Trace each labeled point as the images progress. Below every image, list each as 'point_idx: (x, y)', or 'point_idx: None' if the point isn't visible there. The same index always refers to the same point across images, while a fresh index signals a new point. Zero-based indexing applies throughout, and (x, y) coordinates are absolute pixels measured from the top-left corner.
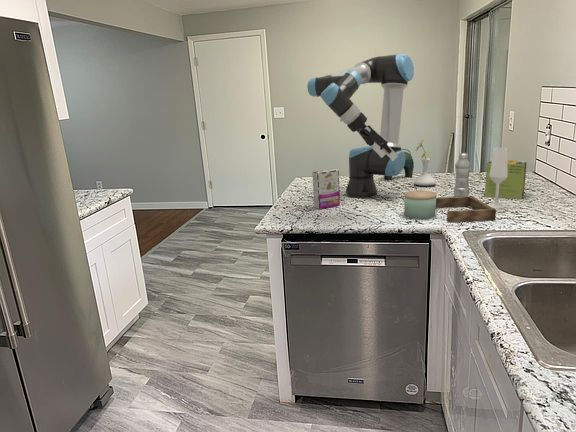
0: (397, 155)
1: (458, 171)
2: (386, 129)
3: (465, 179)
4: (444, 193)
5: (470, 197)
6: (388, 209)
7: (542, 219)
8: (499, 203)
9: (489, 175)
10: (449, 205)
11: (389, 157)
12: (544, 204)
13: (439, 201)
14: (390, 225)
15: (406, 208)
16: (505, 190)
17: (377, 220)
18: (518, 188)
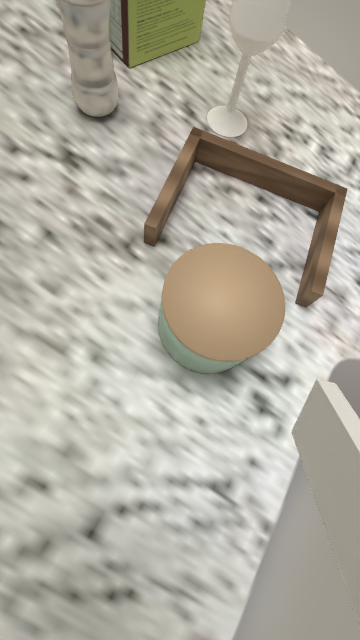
0: (338, 391)
1: (88, 22)
2: None
3: (110, 46)
4: (25, 104)
5: (204, 139)
6: (87, 368)
7: (356, 137)
8: (236, 110)
9: (242, 34)
10: (175, 199)
11: (309, 469)
12: None
13: (165, 213)
14: (270, 482)
15: (211, 368)
16: (172, 29)
17: (196, 492)
18: (197, 10)
